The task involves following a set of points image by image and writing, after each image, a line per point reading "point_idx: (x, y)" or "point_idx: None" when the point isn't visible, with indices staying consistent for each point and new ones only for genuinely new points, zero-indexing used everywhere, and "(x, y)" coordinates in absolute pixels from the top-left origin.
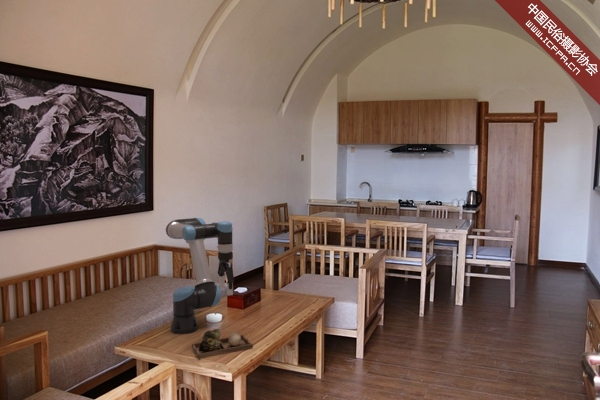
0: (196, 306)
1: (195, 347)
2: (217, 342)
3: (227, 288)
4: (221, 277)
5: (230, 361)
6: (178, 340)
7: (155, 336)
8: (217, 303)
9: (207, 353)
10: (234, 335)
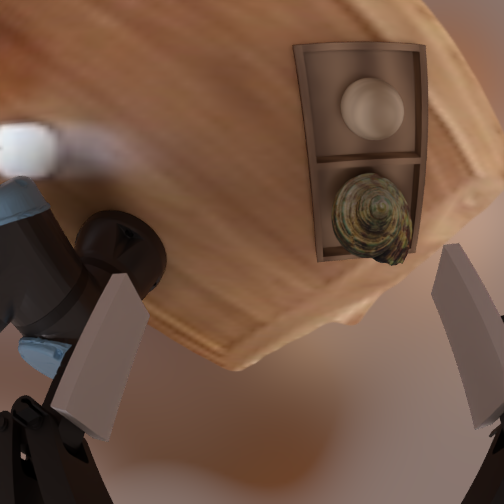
0: (91, 280)
1: (354, 255)
2: (397, 196)
3: (463, 359)
4: (96, 419)
5: (468, 156)
6: (219, 275)
7: (174, 319)
8: (33, 183)
9: (418, 226)
10: (396, 121)
